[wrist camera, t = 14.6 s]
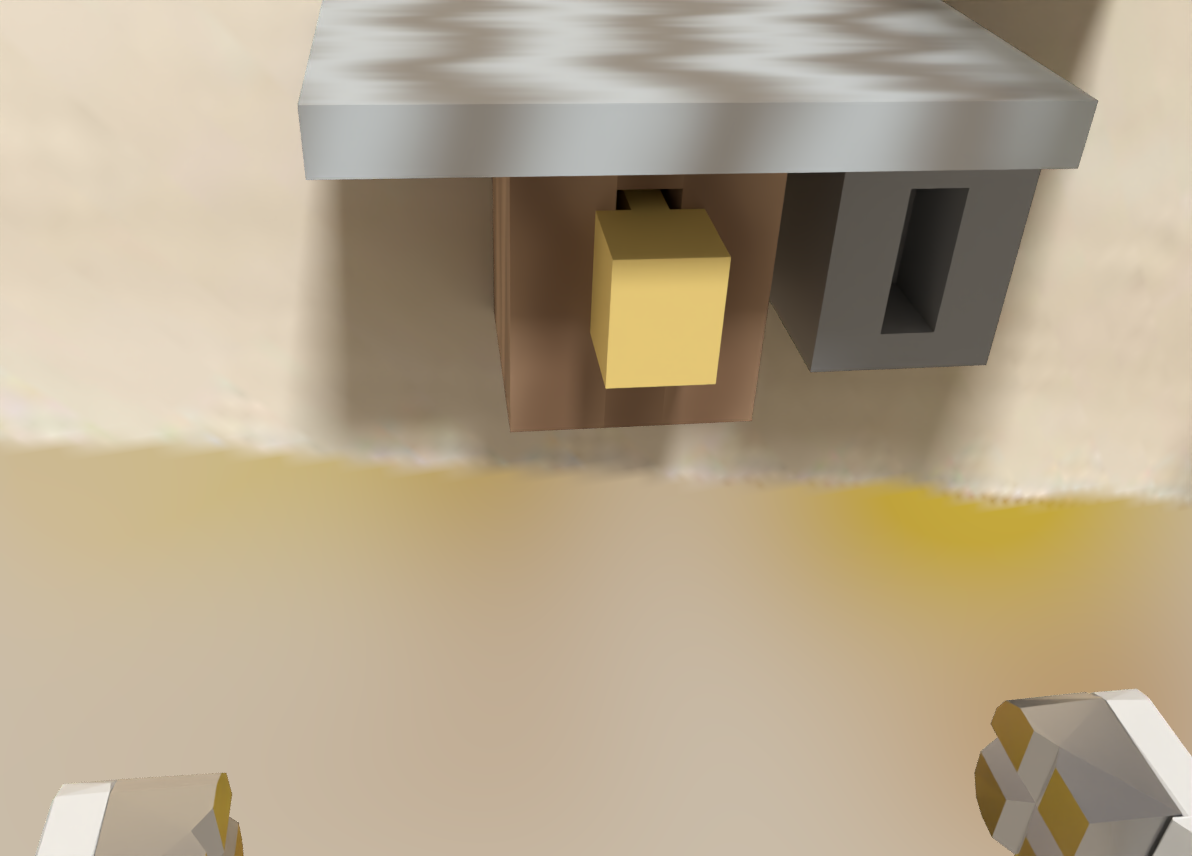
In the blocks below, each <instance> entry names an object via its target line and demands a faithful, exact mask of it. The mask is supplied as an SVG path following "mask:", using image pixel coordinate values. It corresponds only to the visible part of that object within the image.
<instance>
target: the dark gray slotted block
mask: <svg viewBox="0 0 1192 856" xmlns="http://www.w3.org/2000/svg"><path fill="white" fill-rule="evenodd" d="M1040 171H1041V169H1011V170H943V171H875V172H807V173H787V180H786V187H785V194H784V201H783V208H782V215H781V222H780V228H779V235H778V242H777V249H776V256H775V263H774V270H773V277H772V284H771V290H770V297H769V300H770V302H771V304H772V305H773V307H774V309H775V311H776V312H777V314H778V316H779V318H780V319H781V321H782V323H783V325H784V327H785V328H786V330H787V332H788V334H789V335H790V337H791V339H792V341H793V342H794V344H795V346H796V348H797V349H798V351H799V353H800V355H801V356H802V358H803V360H804V362H805V364H806V365H807V367H808V369H809V371H810V372H826V371H851V370H875V369H900V368H924V367H949V366H974V365H986V364H987V360H988V356H989V353H990V349H991V346H992V342H993V339H994V335H995V331H996V328H997V324H998V321H999V317H1000V314H1001V310H1002V306H1003V303H1004V299H1005V296H1006V292H1007V289H1008V285H1009V282H1010V278H1011V274H1012V271H1013V267H1014V264H1015V260H1016V257H1017V253H1018V249H1019V246H1020V242H1021V239H1022V235H1023V232H1024V228H1025V224H1026V221H1027V217H1028V214H1029V210H1030V207H1031V203H1032V200H1033V196H1034V192H1035V189H1036V185H1037V182H1038V178H1039V175H1040Z"/></svg>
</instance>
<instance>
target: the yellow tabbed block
mask: <svg viewBox="0 0 1192 856" xmlns="http://www.w3.org/2000/svg"><path fill="white" fill-rule="evenodd" d="M730 262H731V256H730V254H729V253H728V251H727V249H726V247H725V245H724V243H723V242H722V240H721V238H720V236H719V234H718V232H717V231H716V229H715V227H714V225H713V223H712V221H711V219H710V218H709V216H708V214H707V212H706V210H705V209H669V207H668V205H667V203H666V201H665V199H664V197H663V195H662V193H661V191H660V189H630V190H617V196H616V210H610V211H596V214H595V236H594V259H593V281H592V303H591V325H590V334H591V337H592V341H593V345H594V348H595V352H596V356H597V359H598V363H599V367H600V370H601V374H602V377H603V381H604V385H605V388H606V389H608V388H632V387H657V386H682V385H706V384H716V377H717V369H718V360H719V352H720V344H721V336H722V328H723V319H724V311H725V303H726V295H727V287H728V279H729V270H730Z"/></svg>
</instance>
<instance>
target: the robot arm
mask: <svg viewBox="0 0 1192 856" xmlns="http://www.w3.org/2000/svg"><path fill="white" fill-rule="evenodd" d="M991 725H992V727H993V729H994V731H995V733H996V735H997V738H996V739H995V740H994V741H992V742H991V743H990V744H989V745H988V746H986V747H985V748H984V749H983V750H982V751H981V752H980V756H979V759H978V762H977V766H976V769H975V789H976V798H977V802H978V805H979V809H980V812H981V815H982V818H983V819H984V822H985V824H986V826H987V828H988V830H989V832H990V834H991V836H992V838H993V839H995V840H996V841H998V842H999V843H1000V844H1002V845H1003V846H1004V847H1006V848H1007V849H1008V850H1010V851H1011V852H1012V853H1014V854H1015V855H1014V856H1192V756H1191V755H1190V754H1189V752H1188V751H1187V749H1186V748H1185V747H1184V745H1183V744H1182V743H1181V742H1180V740H1179V738H1178V737H1177V736H1176V734H1175V733H1174V732H1173V730H1172V729H1171V727H1170V726H1169V725H1168V723H1167V722H1166V721H1165V719H1164V718H1163V717H1162V715H1161V714H1160V712H1159V711H1158V710H1157V709H1156V707H1155V706H1154V704H1153V703H1152V702H1151V700H1150V699H1149V698H1148V697H1147V696H1146V695H1144V694H1143V693H1142V692H1140V691H1139V690H1137V689H1126V690H1115V691H1104V692H1094V693H1086V692H1082V693H1073V694H1063V695H1054V696H1044V697H1035V698H1025V699H1017V700H1007V701H1005V702H1003V703H1002V704H1001V705H1000V706H998V707H997V708H996V711H995V714H994V716H993V719H992V722H991ZM231 799H232V792H231V788H230V784H229V781H228V777H227V774H226V773H212V774H196V775H180V776H164V777H148V778H134V779H118V780H106V781H94V782H81V783H68V784H63V785H62V786H61V788H60V789H59V791H58V792H57V794H56V795H55V797H54V798H53V800H52V803H51V806H50V809H49V812H48V815H47V819H46V823H45V825H44V828H43V832H42V835H41V838H40V842H39V845H38V848H37V851H36V855H35V856H243V844H242V837H241V832H240V827H239V823H238V822H237V821H235V820H234V819H232V818H231V817H229V813H230V806H231Z"/></svg>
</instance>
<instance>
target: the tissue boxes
mask: <svg viewBox="0 0 1192 856" xmlns="http://www.w3.org/2000/svg"><path fill="white" fill-rule="evenodd" d="M1097 103H1098V100H1096V99H1095V98H1093V97H1092V96H1090V95H1088V94H1087V93H1085V92H1084V91H1082V90H1081V89H1079V88H1078V87H1076V86H1074V85H1073V84H1071V83H1070V82H1068V81H1067V80H1065V79H1063V78H1062V77H1060V76H1059V75H1057V74H1056V73H1054V72H1053V71H1051V70H1049V69H1048V68H1046V67H1045V66H1043V65H1042V64H1040V63H1038V62H1037V61H1035V60H1034V59H1032V58H1031V57H1029V56H1028V55H1026V54H1024V53H1023V52H1021V51H1020V50H1018V49H1017V48H1015V47H1013V46H1012V45H1010V44H1009V43H1007V42H1006V41H1004V40H1002V39H1001V38H999V37H998V36H996V35H995V34H993V33H992V32H990V31H988V30H987V29H985V28H984V27H982V26H981V25H979V24H977V23H976V22H974V21H973V20H971V19H970V18H968V17H967V16H965V15H963V14H962V13H960V12H959V11H957V10H956V9H954V8H952V7H951V6H949V5H948V4H946V3H945V2H943V1H941V0H323V1H322V5H321V9H320V13H319V17H318V22H317V26H316V30H315V34H314V38H313V43H312V47H311V51H310V55H309V59H308V64H307V68H306V72H305V76H304V80H303V85H302V89H301V93H300V97H299V101H298V113H299V122H300V131H301V140H302V149H303V158H304V167H305V176H306V180H333V179H401V178H468V177H492V182H493V262H494V315H495V323H496V330H497V337H498V345H499V352H500V359H501V366H502V374H503V381H504V388H505V396H506V403H507V410H508V417H509V425H510V432H523V431H544V430H565V429H587V428H608V427H630V426H651V425H672V424H694V423H715V422H737V421H752V414H753V407H754V400H755V394H756V387H757V380H758V373H759V366H760V359H761V352H762V345H763V339H764V332H765V325H766V318H767V311H768V304H769V297H770V290H771V284H772V277H773V270H774V263H775V256H776V249H777V242H778V235H779V228H780V222H781V215H782V208H783V201H784V194H785V187H786V180H787V173H807V172H875V171H943V170H1011V169H1078V167H1079V163H1080V160H1081V157H1082V153H1083V150H1084V147H1085V143H1086V140H1087V137H1088V133H1089V130H1090V127H1091V123H1092V120H1093V117H1094V113H1095V110H1096V107H1097ZM630 189H660V191H661V193H662V195H663V197H664V199H665V201H666V203H667V205H668V207H669V209H705V210H706V212H707V214H708V216H709V218H710V219H711V221H712V223H713V225H714V227H715V229H716V231H717V232H718V234H719V236H720V238H721V240H722V242H723V243H724V245H725V247H726V249H727V251H728V253H729V254H730V256H731V262H730V270H729V279H728V287H727V295H726V303H725V311H724V319H723V328H722V336H721V344H720V352H719V360H718V369H717V377H716V384H706V385H682V386H657V387H632V388H608V389H606V388H605V385H604V381H603V377H602V374H601V370H600V367H599V363H598V359H597V356H596V352H595V348H594V345H593V341H592V337H591V334H590V325H591V303H592V281H593V259H594V236H595V214H596V211H610V210H616V196H617V190H630Z"/></svg>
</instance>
